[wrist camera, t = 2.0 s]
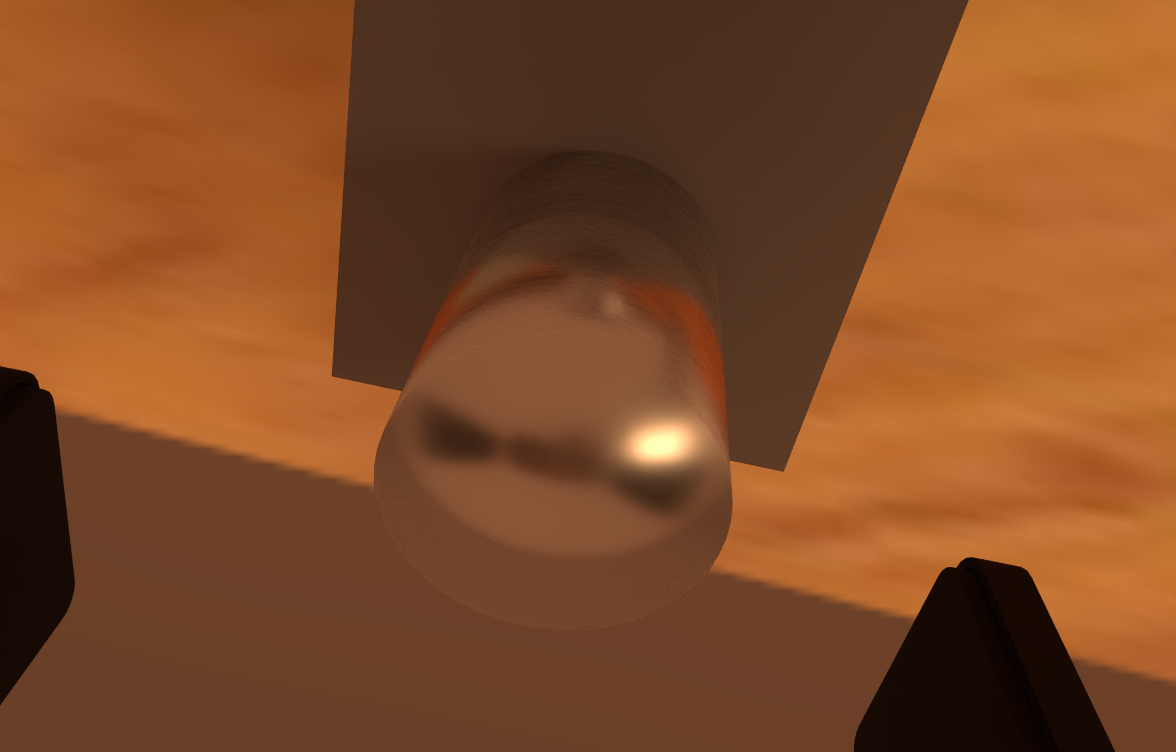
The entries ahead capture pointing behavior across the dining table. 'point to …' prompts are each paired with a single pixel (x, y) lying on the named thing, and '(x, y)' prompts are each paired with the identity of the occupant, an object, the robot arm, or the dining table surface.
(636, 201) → the cylinder
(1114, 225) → the dining table surface
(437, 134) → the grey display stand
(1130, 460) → the dining table surface
